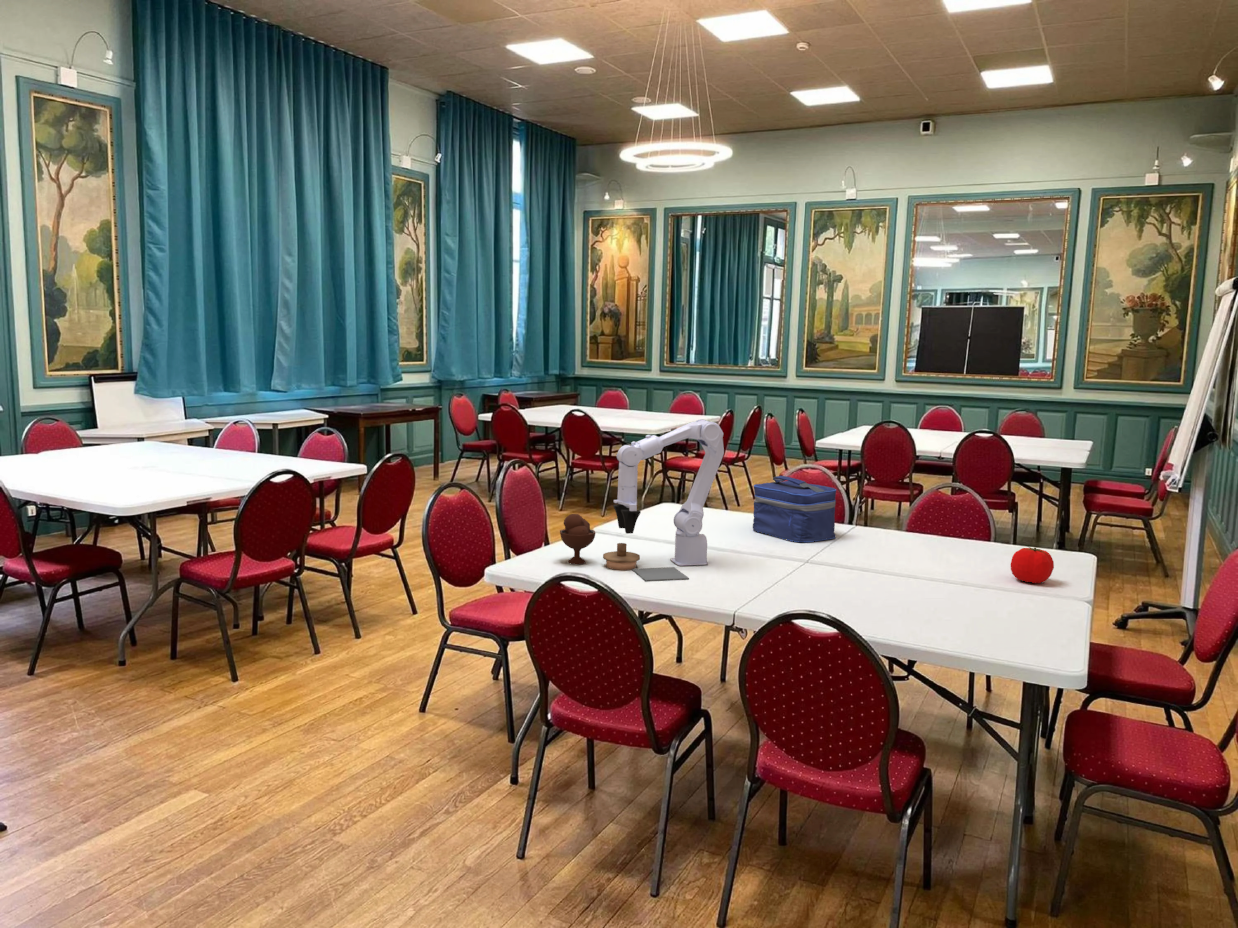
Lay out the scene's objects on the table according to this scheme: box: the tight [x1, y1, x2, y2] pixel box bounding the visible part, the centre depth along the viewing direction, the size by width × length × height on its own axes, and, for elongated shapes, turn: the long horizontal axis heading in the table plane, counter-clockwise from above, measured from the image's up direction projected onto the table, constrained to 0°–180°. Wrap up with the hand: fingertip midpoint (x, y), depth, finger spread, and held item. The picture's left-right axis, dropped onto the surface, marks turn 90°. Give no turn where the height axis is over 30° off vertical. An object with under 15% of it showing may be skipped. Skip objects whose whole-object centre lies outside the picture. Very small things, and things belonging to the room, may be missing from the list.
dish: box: [605, 560, 637, 571], centre depth 273 cm, size 9×9×2 cm
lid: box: [602, 542, 641, 563], centre depth 272 cm, size 11×11×4 cm
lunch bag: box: [752, 475, 837, 543], centre depth 327 cm, size 31×21×20 cm
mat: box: [631, 566, 690, 582], centre depth 264 cm, size 13×13×1 cm
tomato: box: [1010, 545, 1055, 584], centre depth 268 cm, size 12×12×10 cm
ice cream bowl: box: [559, 513, 596, 566], centre depth 275 cm, size 11×11×15 cm
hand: (625, 530), depth 273 cm, fingers open, 7 cm apart
